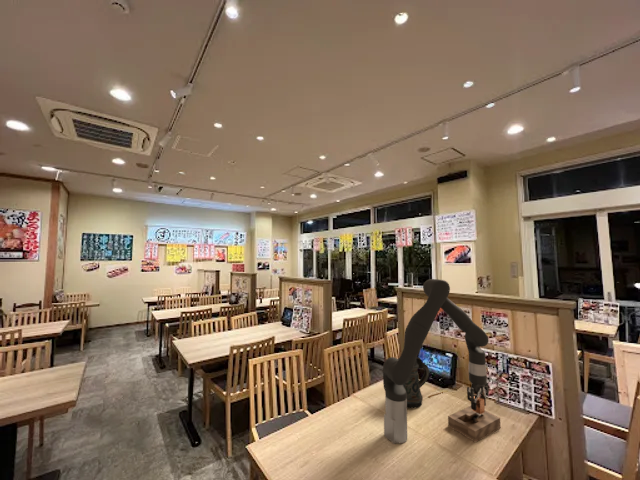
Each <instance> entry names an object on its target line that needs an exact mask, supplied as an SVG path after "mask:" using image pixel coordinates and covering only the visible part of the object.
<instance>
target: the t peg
mask: <svg viewBox="0 0 640 480" xmlns="http://www.w3.org/2000/svg"><path fill="white" fill-rule="evenodd" d="M474 399H475V397H474ZM476 406H477V410H473V411H475V412H476V416H473V422H474V423H477V422H476V419H477V418H479V417H481V414H482V413H484V412H485V411H486V410H485V406H484V399H483V398H481V397H480V396H479V398H477V401H476Z"/></svg>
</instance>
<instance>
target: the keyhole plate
mask: <svg viewBox="0 0 640 480" xmlns="http://www.w3.org/2000/svg"><path fill="white" fill-rule="evenodd" d="M473 416H476V412H475V411H473V409H472V408H471V405H469V406H467V407H464V408H463V409H461V410H458V411H456V412H454V413H452V414H449V415H448V416H447V425H448V427H449V428H451V429H453V430H454V431H456V432H458V433H460V434H461V435H463V436H465V437H466V438H468V439H469V440H471V441H473V442H474V443H477V442H479V441H480V440H482V439H483V438H485V437H487V436H489V435H491V434H492V433H494V432H495V431H497V430H499V429H501V417H499V416H498V415H495V414H493V413H492V412H488V411H486V410H485V412H484V413H482V414H481V417H479V418H477V419H476V422H477V423H474V422H473Z"/></svg>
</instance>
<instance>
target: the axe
mask: <svg viewBox="0 0 640 480" xmlns="http://www.w3.org/2000/svg"><path fill="white" fill-rule="evenodd" d="M441 393H442V394H443V391H440V392H437V393H434V394H430V395H428V396H427V398H429V399H431V398H432V397H434V396H438V395H441Z"/></svg>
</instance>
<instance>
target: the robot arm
mask: <svg viewBox="0 0 640 480" xmlns="http://www.w3.org/2000/svg"><path fill="white" fill-rule="evenodd" d="M422 285H423V286H422V290H423V292H424V294H425V295H426V296H427V300H426V301H425V303H424V304H423V305H422V306H421V307H420V308H419V309H418V310H417V311H416V312H415V313H414V314H413V315H412V316H411V318H410V319H409V321H408V324H407V325H406V326H405V327H406V328H405V330H404V339H403V341H404V343H403V349H402V353H401V354H400V357H398V358H397V357H394V356H393V357H392V356H391V357H388V358H387V359H386V360H385V361H383V366H382V380H383V381H382V382H383V383H382V384H383V389H384V393H385V394H384V395H385V399H384V400H385V413H384V414H383V436H384V437H385V439H387V440H389V442H391V443H392V444H393V445H394V444H404V443H406V442H407V441H408V408H407V392H406V390H405V388H404V386H403V384H405V383H406V382H407V381H408V379H409V377H410V375H411V372H412V369H413V366H414V363H415V361H416V358H417V357H418V355H419V354H420V351H421V349H422V347H423V344H424V342H425V340H426V339H427V336H428V334H429V332H430V330H431V327H432V325H433V323H434V321H435V319H436V317H437V315H438V313H439V311H440V310H443V312H444V313H445V314H446V315H447V316H448V317H449V318H450V319H451V320H452V322H453V323H454V324H455V325H456V326H457V327H458V328H459V330H461V331H462V332H463V333H464V339H465V344H466V348H467V350H468V381H469V382H470V383H471V384H470V385H471V386H470V387H469V386H467V387H466V394H467V397H466V398H467V400H468V401H470V406H471V408H472V409H473V410H477V406H476V401H477V398H479V397H481V398H483V399H484V407H485V406H486V405H487V401H486V400H487V399H486V398H488V397H487V396H489V395H490V393H489V391H490V390H489V389H490V388H489V383H488V379H487V377H488V376H487V365H486V363H487V362H486V352H485V351H484V350H482V348H483V347H486V346H487V345H488V343H489V337H488V335H487V333H486V332H485V331H484V330H483V329H482V328H481V327H479V325H477V324H476V323H475V322H474V321H473V320H472V319H471V318H470V316H469V315H468V314H467V313H466V311H464V310H463V308H461V307H459V306H458V305H457V304H455V302H454V301H452V300H451V299H449V295H450V291H451V287H450V284H449V282H448V281H446V280H444V279H438V278H437V279H436V278H430V279H426V281H425V282H423V284H422ZM481 347H482V348H481ZM398 359H399V360H398ZM474 397H475V399H474Z"/></svg>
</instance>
